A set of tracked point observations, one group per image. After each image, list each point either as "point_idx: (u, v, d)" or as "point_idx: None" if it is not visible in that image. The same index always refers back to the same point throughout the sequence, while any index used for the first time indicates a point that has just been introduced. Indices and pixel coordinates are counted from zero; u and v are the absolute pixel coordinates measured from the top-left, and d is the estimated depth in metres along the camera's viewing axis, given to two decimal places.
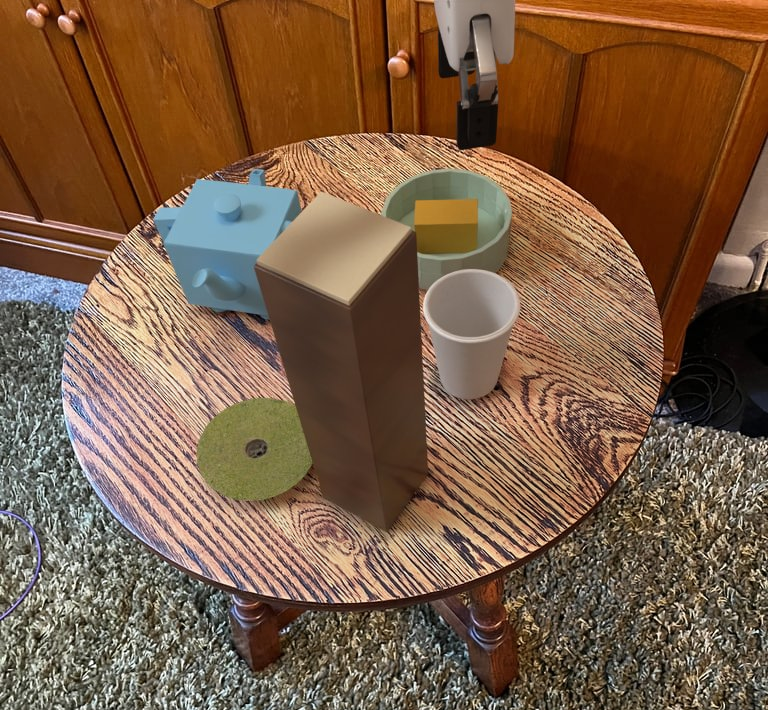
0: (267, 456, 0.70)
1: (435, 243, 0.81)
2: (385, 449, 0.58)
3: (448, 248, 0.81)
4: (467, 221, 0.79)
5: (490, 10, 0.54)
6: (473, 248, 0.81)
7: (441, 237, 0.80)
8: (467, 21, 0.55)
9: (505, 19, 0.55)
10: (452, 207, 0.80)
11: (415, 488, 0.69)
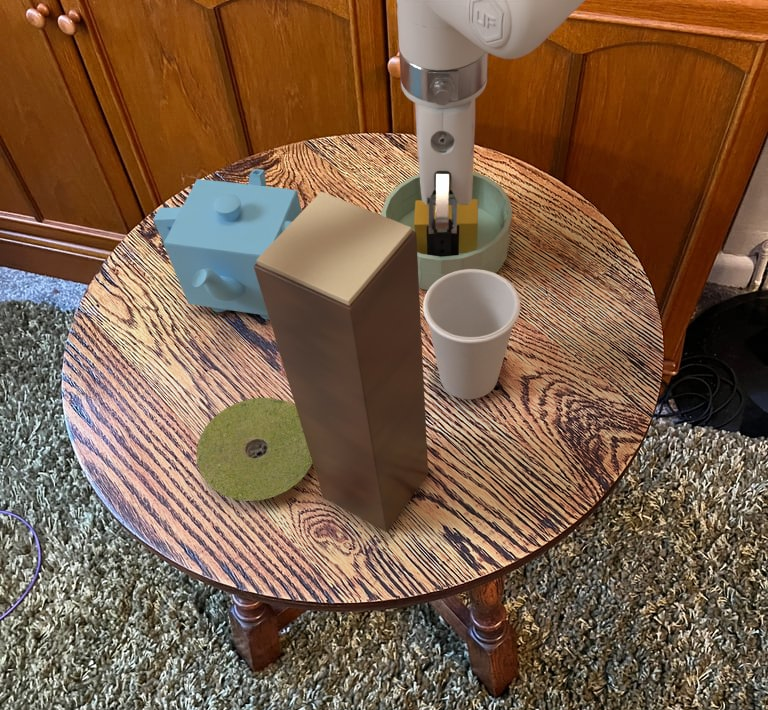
0: (267, 456, 0.70)
1: None
2: (385, 449, 0.58)
3: None
4: (467, 221, 0.79)
5: (450, 169, 0.69)
6: (473, 248, 0.81)
7: None
8: (432, 174, 0.70)
9: (462, 176, 0.70)
10: None
11: (415, 488, 0.69)
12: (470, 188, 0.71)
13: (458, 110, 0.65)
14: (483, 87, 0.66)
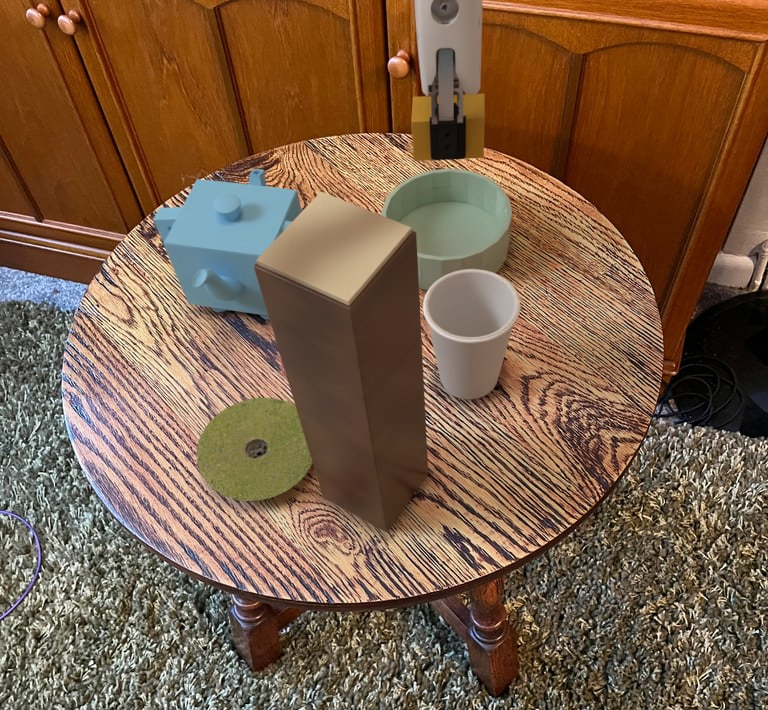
0: (267, 456, 0.70)
1: None
2: (385, 449, 0.58)
3: None
4: (472, 116, 0.68)
5: (454, 45, 0.59)
6: (479, 151, 0.71)
7: None
8: (433, 53, 0.60)
9: (468, 54, 0.60)
10: (455, 102, 0.69)
11: (415, 488, 0.69)
12: (478, 72, 0.61)
13: None
14: None
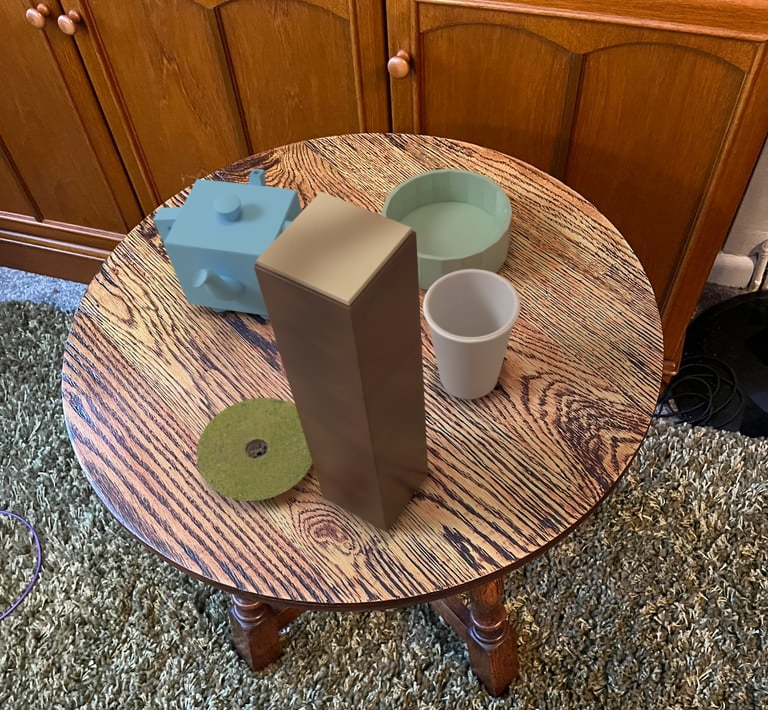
0: (267, 456, 0.70)
1: None
2: (385, 449, 0.58)
3: None
4: None
5: None
6: None
7: None
8: None
9: None
10: None
11: (415, 488, 0.69)
12: None
13: None
14: None
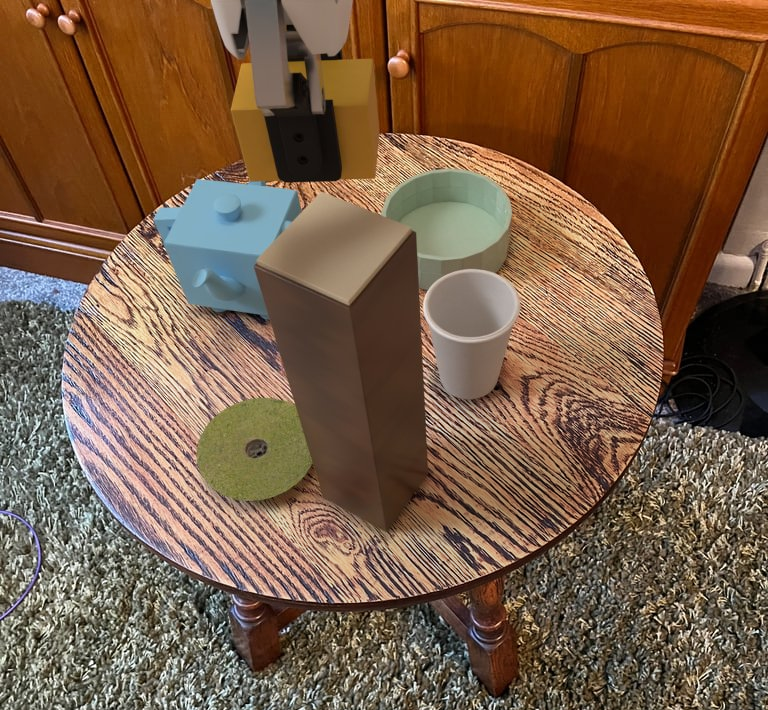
0: (267, 456, 0.70)
1: None
2: (385, 449, 0.58)
3: None
4: (345, 102, 0.36)
5: None
6: (366, 167, 0.38)
7: None
8: None
9: None
10: None
11: (415, 488, 0.69)
12: (332, 5, 0.29)
13: None
14: None
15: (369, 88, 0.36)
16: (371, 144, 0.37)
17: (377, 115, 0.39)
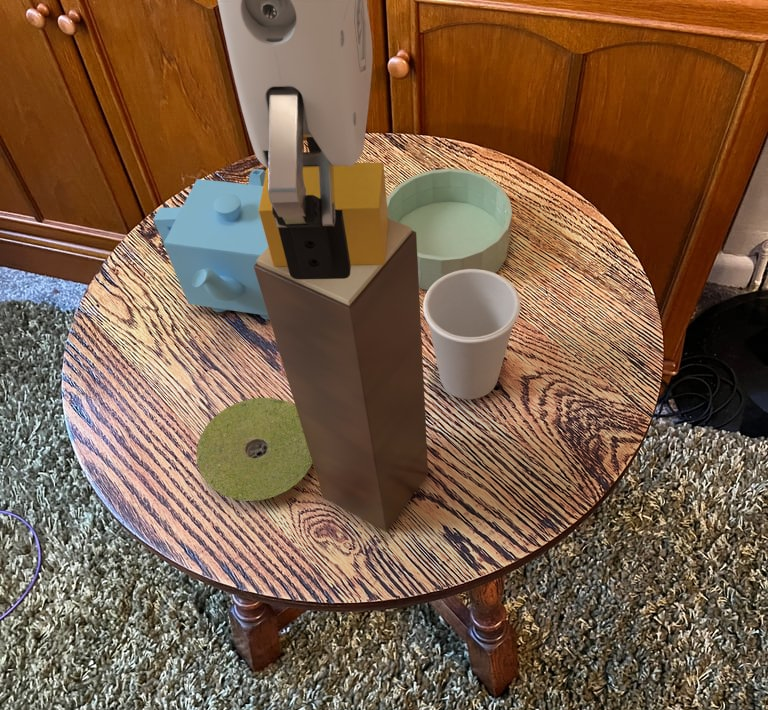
0: (267, 456, 0.70)
1: None
2: (385, 449, 0.58)
3: None
4: (359, 204, 0.41)
5: (297, 82, 0.31)
6: (377, 255, 0.43)
7: None
8: (261, 95, 0.32)
9: (328, 99, 0.32)
10: (334, 178, 0.42)
11: (415, 488, 0.69)
12: (351, 128, 0.33)
13: None
14: None
15: (380, 191, 0.41)
16: (382, 237, 0.42)
17: (386, 207, 0.44)
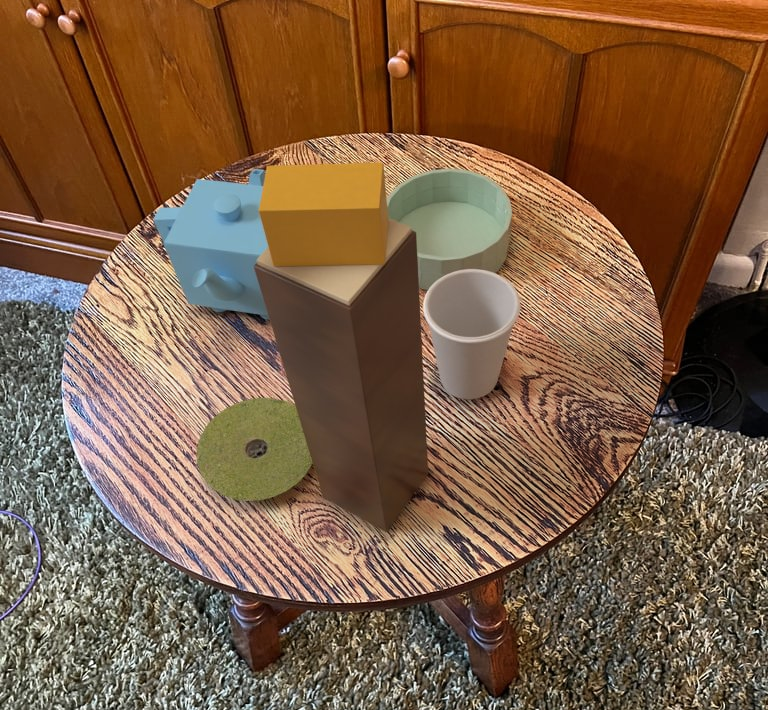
0: (267, 456, 0.70)
1: (305, 246, 0.43)
2: (385, 449, 0.58)
3: (331, 256, 0.44)
4: (359, 204, 0.41)
5: None
6: (377, 255, 0.43)
7: (314, 235, 0.42)
8: None
9: None
10: (334, 178, 0.42)
11: (415, 488, 0.69)
12: None
13: None
14: None
15: (380, 191, 0.41)
16: (382, 237, 0.42)
17: (386, 207, 0.44)
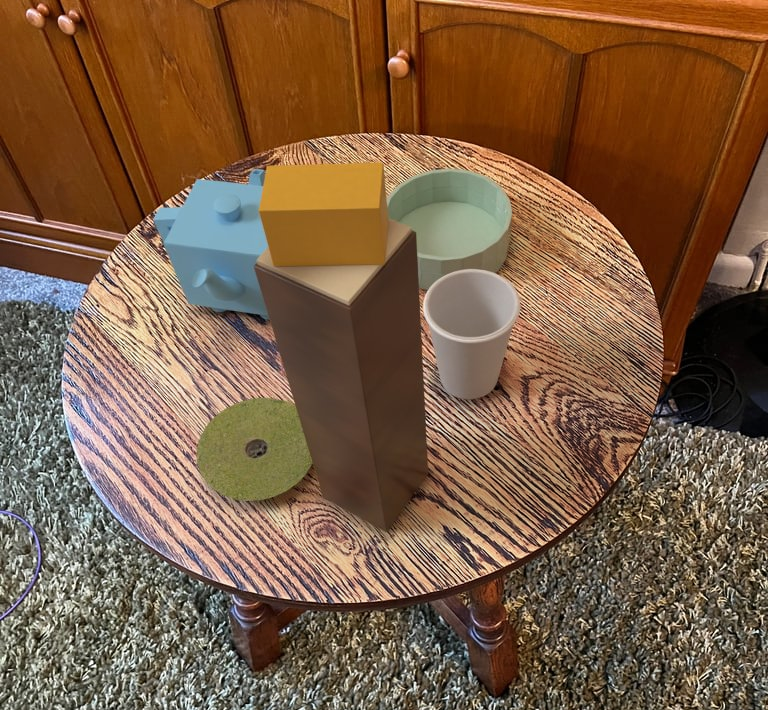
0: (267, 456, 0.70)
1: (305, 246, 0.43)
2: (385, 449, 0.58)
3: (331, 256, 0.44)
4: (359, 204, 0.41)
5: None
6: (377, 255, 0.43)
7: (314, 235, 0.42)
8: None
9: None
10: (334, 178, 0.42)
11: (415, 488, 0.69)
12: None
13: None
14: None
15: (380, 191, 0.41)
16: (382, 237, 0.42)
17: (386, 207, 0.44)
